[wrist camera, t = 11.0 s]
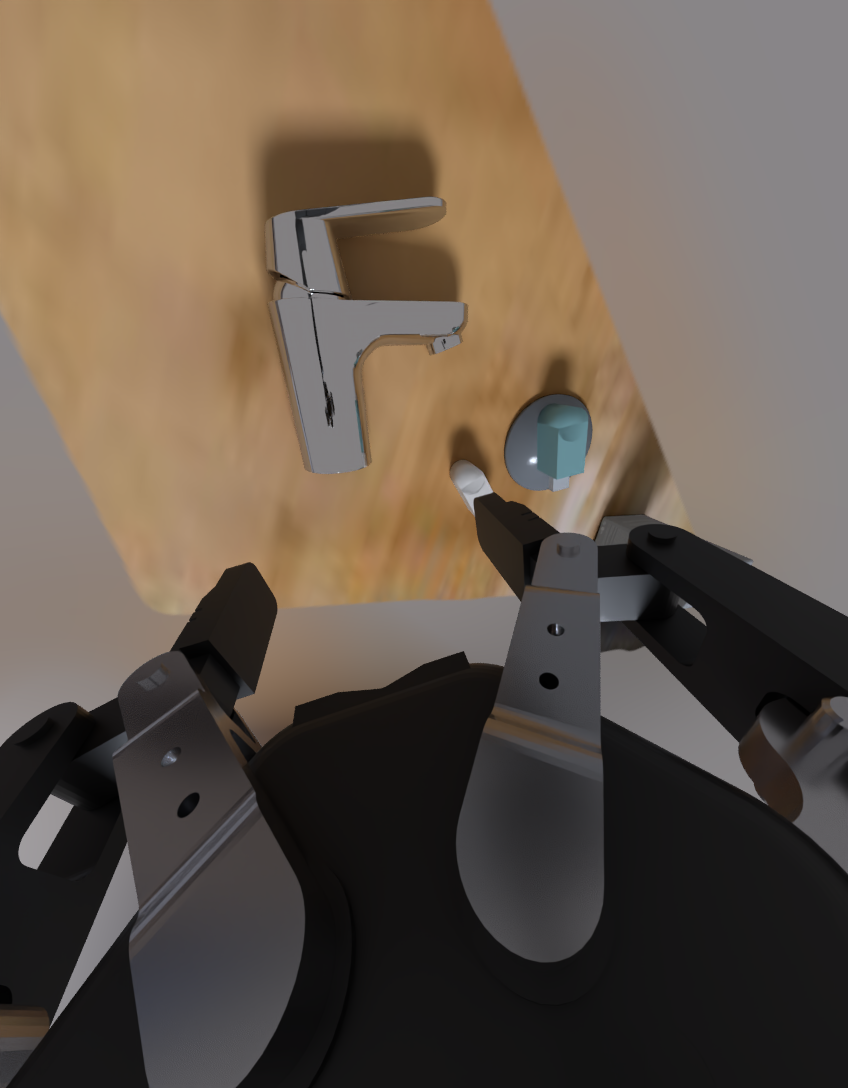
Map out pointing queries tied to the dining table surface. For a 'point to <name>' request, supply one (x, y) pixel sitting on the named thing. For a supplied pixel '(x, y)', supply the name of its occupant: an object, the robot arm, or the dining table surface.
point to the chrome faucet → (343, 322)
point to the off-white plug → (469, 482)
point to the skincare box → (620, 527)
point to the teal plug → (561, 443)
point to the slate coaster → (533, 442)
